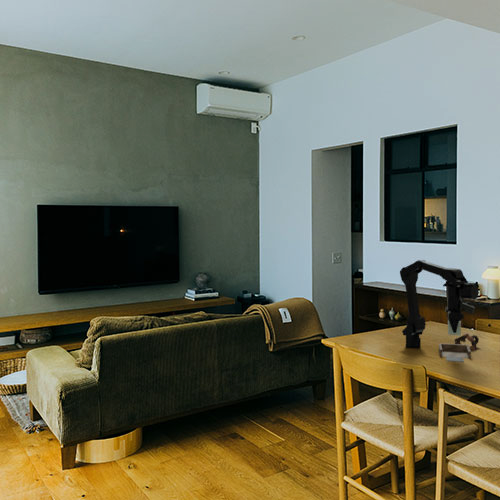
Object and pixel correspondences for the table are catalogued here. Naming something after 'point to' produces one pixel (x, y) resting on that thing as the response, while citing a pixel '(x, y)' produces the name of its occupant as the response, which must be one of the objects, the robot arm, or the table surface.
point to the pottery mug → (470, 338)
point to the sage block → (452, 330)
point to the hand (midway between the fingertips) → (454, 331)
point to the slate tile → (454, 359)
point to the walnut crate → (454, 350)
